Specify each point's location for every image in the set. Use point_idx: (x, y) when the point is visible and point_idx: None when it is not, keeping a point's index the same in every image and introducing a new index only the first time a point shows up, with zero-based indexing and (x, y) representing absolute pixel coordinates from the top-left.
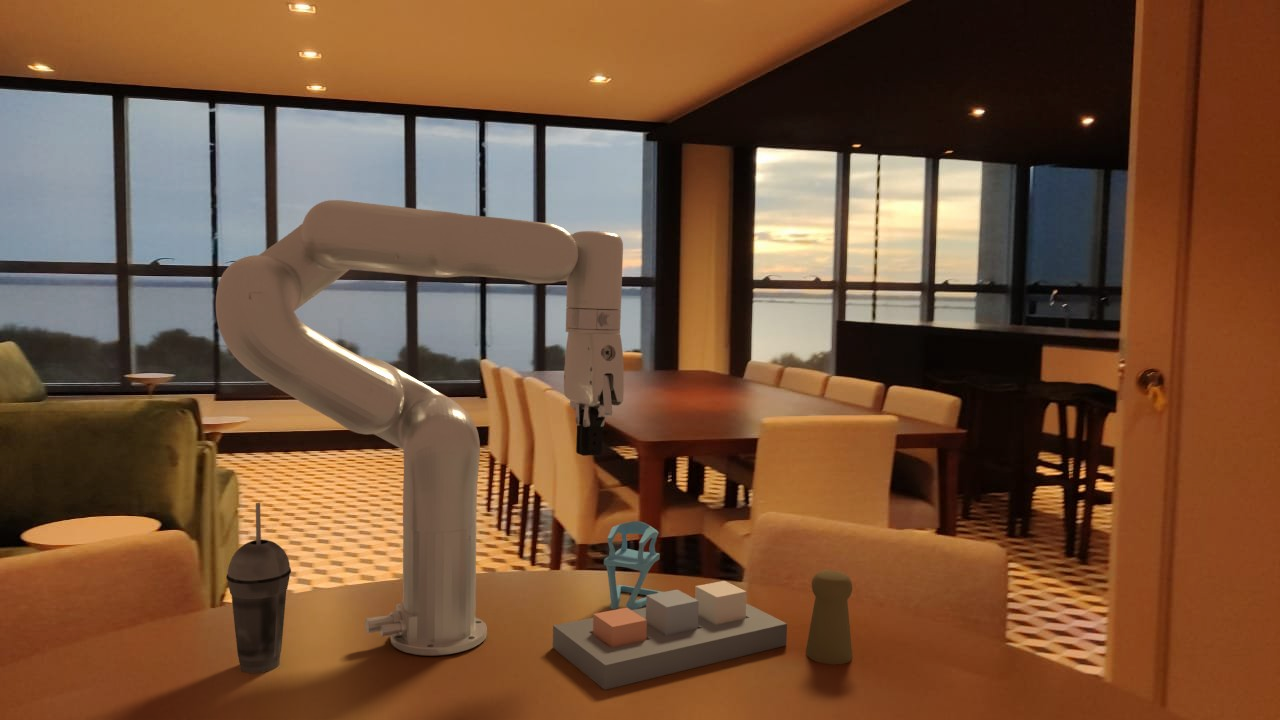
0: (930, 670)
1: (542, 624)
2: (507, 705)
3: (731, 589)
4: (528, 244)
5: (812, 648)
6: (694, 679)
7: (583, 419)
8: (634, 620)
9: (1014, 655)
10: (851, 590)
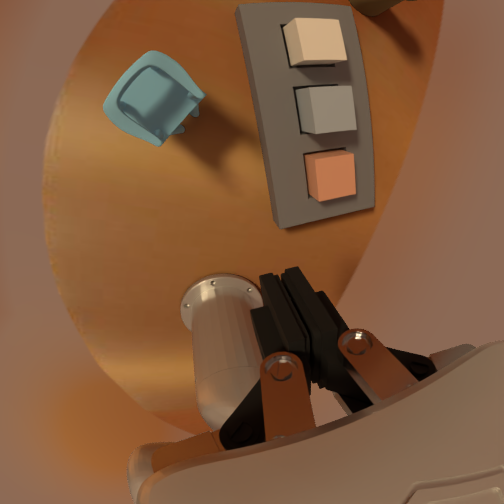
0: None
1: (210, 219)
2: (352, 267)
3: (328, 29)
4: None
5: (373, 13)
6: (374, 124)
7: (339, 402)
8: (349, 166)
9: None
10: None
